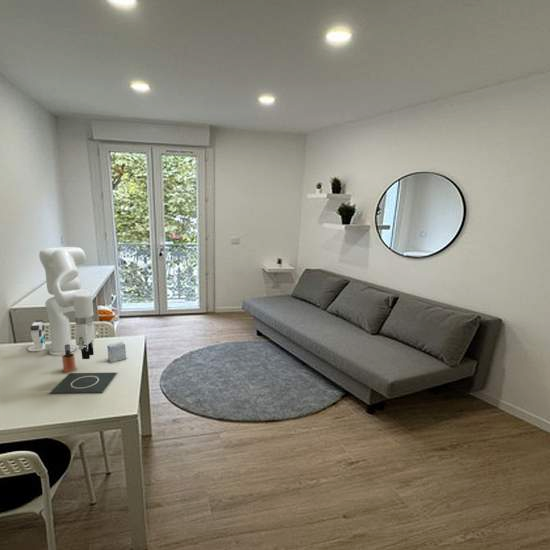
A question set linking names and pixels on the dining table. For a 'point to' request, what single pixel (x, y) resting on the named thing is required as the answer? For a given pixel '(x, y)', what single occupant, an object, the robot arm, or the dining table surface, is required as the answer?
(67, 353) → the cylinder
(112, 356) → the medicine box
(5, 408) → the dining table surface
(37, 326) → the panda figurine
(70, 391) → the slate board
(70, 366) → the pen cup
